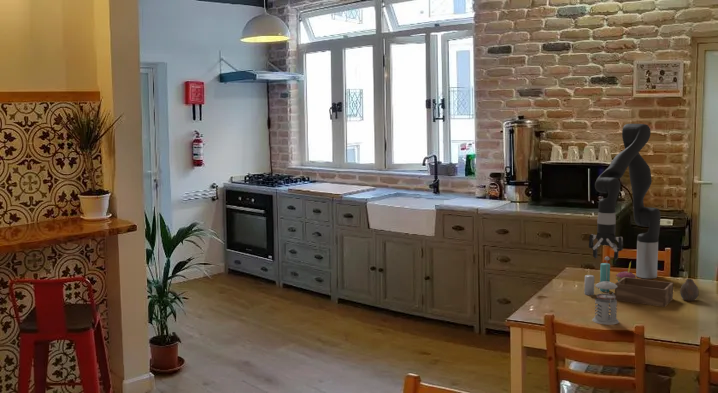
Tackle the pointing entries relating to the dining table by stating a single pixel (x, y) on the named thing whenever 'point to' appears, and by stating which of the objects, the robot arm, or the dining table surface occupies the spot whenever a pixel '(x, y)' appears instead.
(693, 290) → the vase
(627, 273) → the cupcake
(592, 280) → the grey peg
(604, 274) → the teal peg
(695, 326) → the dining table surface
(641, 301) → the peg box
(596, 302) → the french press
